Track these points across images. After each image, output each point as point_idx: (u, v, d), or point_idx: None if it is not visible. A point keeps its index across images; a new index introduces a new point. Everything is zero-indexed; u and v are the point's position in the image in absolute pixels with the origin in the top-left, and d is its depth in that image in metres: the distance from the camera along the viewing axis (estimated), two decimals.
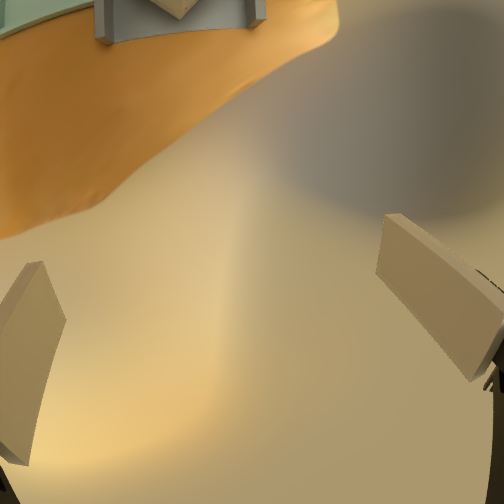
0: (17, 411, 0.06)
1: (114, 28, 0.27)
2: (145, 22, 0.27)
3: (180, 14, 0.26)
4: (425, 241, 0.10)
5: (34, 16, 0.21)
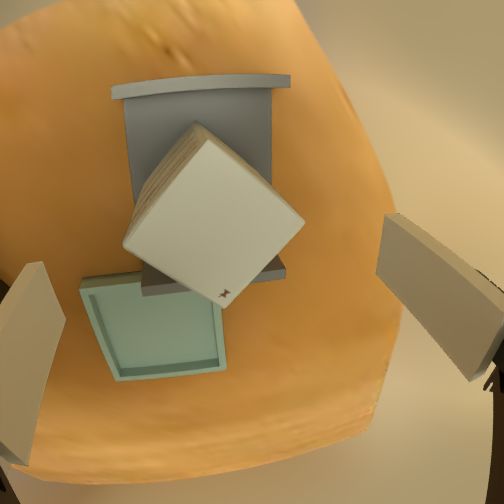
0: (17, 411, 0.06)
1: None
2: None
3: None
4: (425, 241, 0.10)
5: (219, 334, 0.34)
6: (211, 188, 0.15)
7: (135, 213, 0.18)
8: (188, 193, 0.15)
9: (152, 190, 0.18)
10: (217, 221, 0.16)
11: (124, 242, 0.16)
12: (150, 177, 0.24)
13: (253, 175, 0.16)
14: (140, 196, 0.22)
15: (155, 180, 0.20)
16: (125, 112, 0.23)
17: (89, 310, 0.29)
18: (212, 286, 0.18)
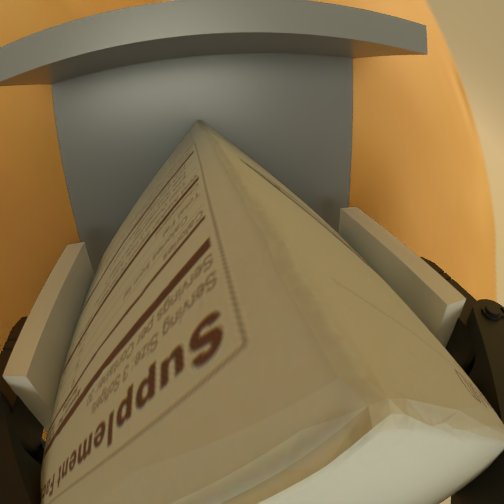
0: None
1: None
2: None
3: None
4: (375, 233, 0.10)
5: None
6: None
7: (53, 418, 0.05)
8: None
9: (74, 383, 0.05)
10: None
11: None
12: (107, 252, 0.11)
13: (492, 432, 0.02)
14: (80, 317, 0.09)
15: (94, 310, 0.07)
16: (56, 111, 0.10)
17: None
18: None
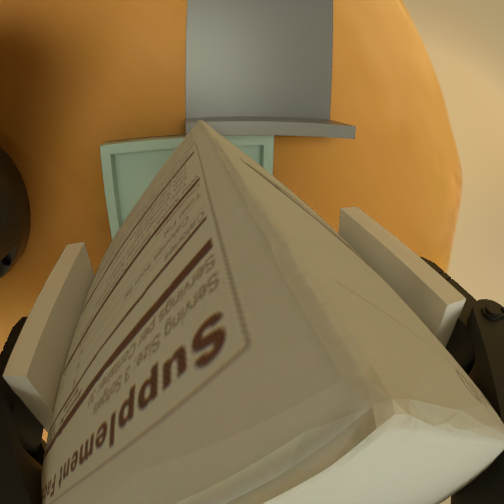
0: None
1: (310, 117, 0.26)
2: (311, 78, 0.25)
3: None
4: (375, 233, 0.10)
5: None
6: None
7: (53, 418, 0.05)
8: None
9: (75, 383, 0.05)
10: None
11: None
12: (108, 253, 0.11)
13: (493, 431, 0.02)
14: (80, 317, 0.09)
15: (95, 310, 0.07)
16: None
17: (107, 177, 0.23)
18: None
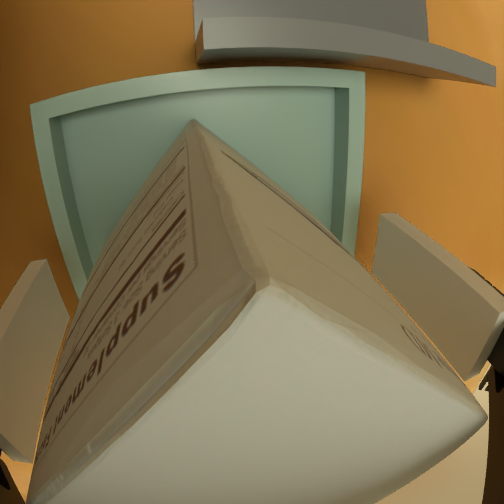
0: (22, 408, 0.06)
1: None
2: None
3: None
4: (420, 240, 0.10)
5: (348, 236, 0.15)
6: (272, 472, 0.03)
7: (53, 386, 0.06)
8: (174, 489, 0.03)
9: (74, 347, 0.06)
10: None
11: None
12: (107, 242, 0.12)
13: (439, 384, 0.03)
14: (80, 299, 0.09)
15: (94, 287, 0.07)
16: None
17: (46, 165, 0.11)
18: None
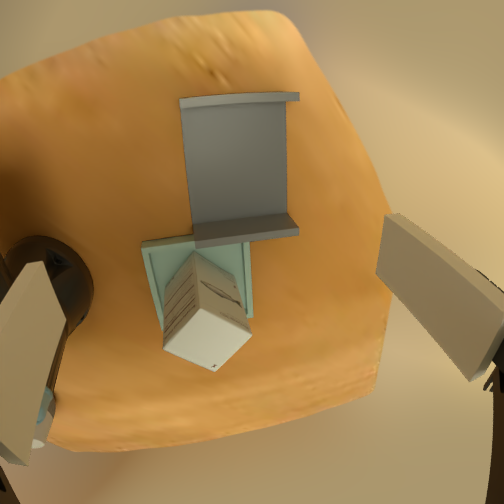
0: (17, 411, 0.06)
1: (273, 213, 0.43)
2: (272, 187, 0.41)
3: (237, 286, 0.43)
4: (425, 241, 0.10)
5: (248, 285, 0.45)
6: (203, 326, 0.32)
7: (165, 326, 0.36)
8: (193, 329, 0.32)
9: (174, 316, 0.35)
10: (208, 339, 0.33)
11: (164, 348, 0.33)
12: (169, 290, 0.41)
13: (223, 319, 0.33)
14: (165, 307, 0.39)
15: (174, 305, 0.37)
16: (181, 116, 0.34)
17: (147, 266, 0.40)
18: (207, 363, 0.35)
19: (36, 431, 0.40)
